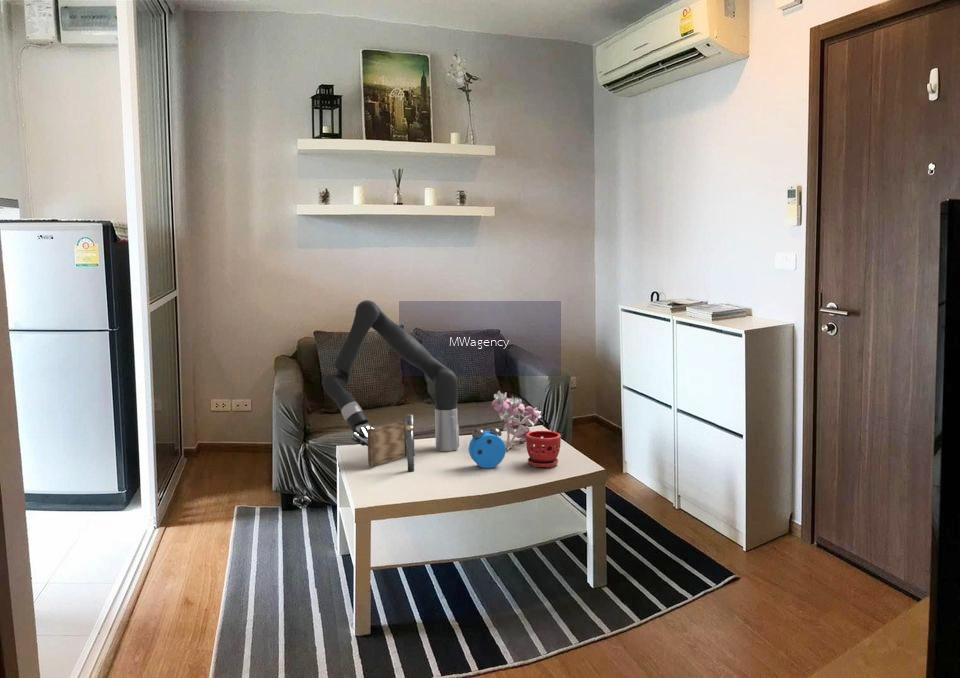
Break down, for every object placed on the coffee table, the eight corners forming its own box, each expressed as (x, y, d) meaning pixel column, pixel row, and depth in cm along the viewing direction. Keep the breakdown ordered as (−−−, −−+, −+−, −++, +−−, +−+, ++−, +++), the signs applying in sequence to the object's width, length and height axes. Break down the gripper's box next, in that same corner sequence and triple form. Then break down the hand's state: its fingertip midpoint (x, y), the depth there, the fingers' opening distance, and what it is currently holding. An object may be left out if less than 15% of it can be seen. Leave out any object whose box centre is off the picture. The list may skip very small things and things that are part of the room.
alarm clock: (501, 462, 275) (500, 424, 273) (506, 467, 269) (505, 428, 267) (468, 466, 271) (467, 427, 269) (473, 470, 266) (472, 431, 264)
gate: (405, 454, 284) (404, 418, 282) (408, 455, 283) (407, 419, 281) (368, 466, 271) (367, 427, 269) (371, 467, 269) (370, 428, 267)
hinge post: (415, 455, 286) (414, 414, 284) (413, 457, 283) (412, 415, 281) (408, 455, 286) (407, 414, 284) (407, 457, 284) (406, 415, 281)
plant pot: (561, 469, 265) (561, 438, 264) (526, 469, 266) (526, 438, 264) (559, 459, 278) (559, 429, 277) (526, 459, 279) (525, 429, 277)
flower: (550, 448, 286) (547, 388, 294) (496, 447, 282) (495, 386, 290) (536, 457, 305) (533, 400, 313) (484, 455, 300) (484, 398, 308)
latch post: (415, 469, 268) (414, 425, 266) (413, 472, 265) (412, 427, 263) (408, 469, 268) (406, 425, 266) (406, 472, 266) (404, 427, 263)
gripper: (345, 413, 272) (367, 450, 266) (371, 407, 282) (393, 442, 276) (336, 424, 276) (358, 461, 270) (363, 418, 286) (384, 453, 280)
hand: (376, 451), depth 273 cm, fingers closed
